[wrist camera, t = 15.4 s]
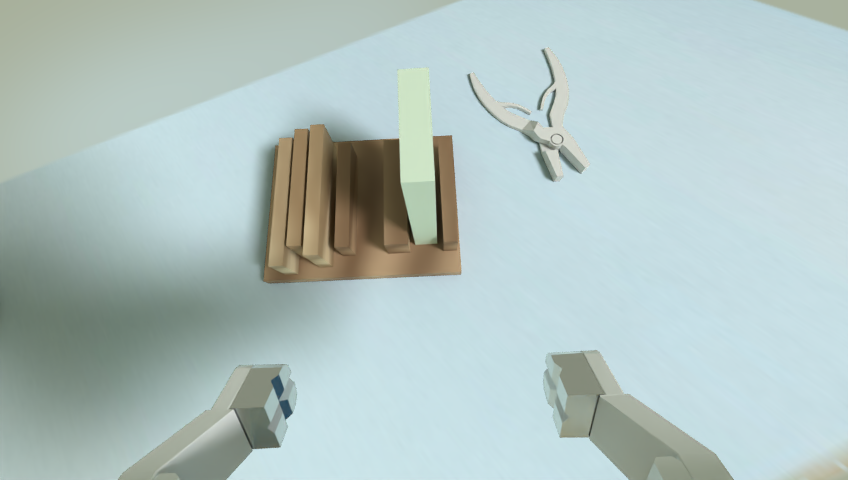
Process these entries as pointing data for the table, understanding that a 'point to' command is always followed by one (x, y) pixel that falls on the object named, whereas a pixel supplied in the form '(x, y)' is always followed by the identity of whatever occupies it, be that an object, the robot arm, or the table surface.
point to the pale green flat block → (417, 153)
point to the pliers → (547, 137)
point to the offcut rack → (353, 212)
